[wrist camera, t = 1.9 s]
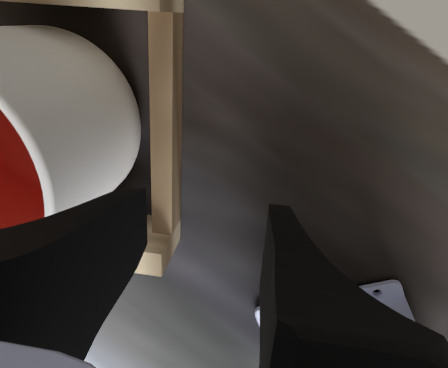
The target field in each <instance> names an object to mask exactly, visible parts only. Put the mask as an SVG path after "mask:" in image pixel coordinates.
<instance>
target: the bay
mask: <svg viewBox="0 0 448 368" xmlns="http://www.w3.org/2000/svg"><path fill="white" fill-rule="evenodd" d="M0 1H7V2H22V3H37V4H52V5H67V6H82V7H96V8H111V9H126V10H141V11H148V49H149V100H150V152H151V203H152V215H147V240H148V244H147V246H146V249H145V251H144V253H143V256H142V258H141V260H140V263H139V265H138V267H137V269H136V271H135V272H134V273H139V274H145V275H152V276H159V277H162V275H163V273H164V271H165V269H166V267H167V265H168V263H169V261H170V259H171V257H172V255H173V253H174V251H175V249H176V247H177V244H178V242H179V240H180V215H181V152H182V88H183V25H184V0H0Z"/></svg>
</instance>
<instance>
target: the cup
mask: <svg viewBox="0 0 448 368" xmlns="http://www.w3.org/2000/svg"><path fill="white" fill-rule="evenodd" d="M140 140H141V121H140V114H139V109H138V106H137V102H136V99H135V96H134V94H133V92H132V89H131V87H130V85H129V83H128V82H127V80H126V78H125V76H124V75H123V74H122V72H121V71H120V69H119V68H118V67H117V65H116V64H115V63H114V62H113V61H112V60H111V59H110V58H109V57H108V56H107V55H106V54H105V53H104V52H103V51H102V50H101V49H99V48H98V47H97V46H96V45H94V44H93V43H91V42H90V41H88V40H87V39H85V38H83V37H81V36H79V35H77V34H75V33H73V32H70V31H67V30H65V29H61V28H57V27H53V26H47V25H15V26H0V229H2V228H7V227H11V226H15V225H19V224H23V223H26V222H30V221H34V220H37V219H40V218H44V217H47V216H50V215H52V214H55V213H58V212H61V211H63V210H66V209H69V208H72V207H74V206H77V205H80V204H82V203H85V202H87V201H90V200H92V199H95V198H97V197H99V196H102V195H104V194H107V193H109V192H112V191H113V190H114V189H115V188H116V187H117V186H118V185H119V184H120V183H121V182H122V181H123V180H124V179H125V178H126V176H127V175H128V174H129V172H130V170H131V169H132V167H133V165H134V162H135V160H136V157H137V155H138V151H139V147H140Z"/></svg>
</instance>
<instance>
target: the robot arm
mask: <svg viewBox="0 0 448 368" xmlns="http://www.w3.org/2000/svg"><path fill="white" fill-rule="evenodd" d="M147 244H148V240H147V201H146V189H145V188H137V187H124V188H120V189H117V190H115V191H112V192H109V193H107V194H104V195H102V196H99V197H97V198H95V199H92V200H90V201H87V202H85V203H82V204H80V205H77V206H74V207H72V208H69V209H66V210H63V211H61V212H58V213H55V214H52V215H50V216H47V217H44V218H40V219H37V220H34V221H30V222H26V223H23V224H19V225H15V226H11V227H7V228H2V229H0V368H96V367H94V366H93V365H92V364H91V363H88V362H85V361H84V359H85V357H86V355H87V353H88V351H89V349H90V347H91V345H92V343H93V341H94V339H95V337H96V335H97V333H98V331H99V329H100V328H101V326H102V324H103V322H104V321H105V319H106V317H107V316H108V314H109V313H110V311H111V310H112V308H113V306H114V305H115V303H116V302H117V300H118V298H119V297H120V295H121V294H122V292H123V290H124V289H125V287H126V286H127V284H128V282H129V281H130V279H131V277H132V276H133V274H134V272H135V271H136V269H137V267H138V265H139V263H140V260H141V258H142V256H143V253H144V251H145V249H146V246H147ZM374 290H380V291H379V292H373V291H374ZM255 317H256V320H257V322H258V324H259V326H260V364H259V368H448V342H447V340H446V339H445V337H444V336H443V335H441V334H439V333H437V332H435V331H433V330H431V329H429V328H427V327H425V326H423V325H421V324H419V323H417V322H415V319H414V317H413V315H412V312H411V310H410V307H409V305H408V303H407V300H406V298H405V295H404V291H403V288H402V285H401V283H400V282H399V281H398V280H387V281H382V282H377V283H372V284H367V285H362V286H357V285H356V284H355V283H353V282H352V281H351V280H350V279H349V278H347V277H346V276H345V275H344V274H343V273H342V272H340V271H339V270H338V269H337V268H336V267H335V266H334V265H333V264H332V263H331V262H330V261H329V260H328V259H327V258H326V257H325V256H324V255H323V254H322V253H321V251H320V250H319V249H318V248H317V247H316V245H315V244H314V243H313V242H312V240H311V239H310V237H309V236H308V235H307V233H306V232H305V230H304V229H303V227H302V226H301V224H300V222H299V221H298V219H297V217H296V216H295V214H294V212H293V210H292V209H291V208H290V206H282V205H274V204H269V212H268V220H267V228H266V236H265V245H264V253H263V261H262V270H261V279H260V306H258V307H257V308H256V309H255Z"/></svg>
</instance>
